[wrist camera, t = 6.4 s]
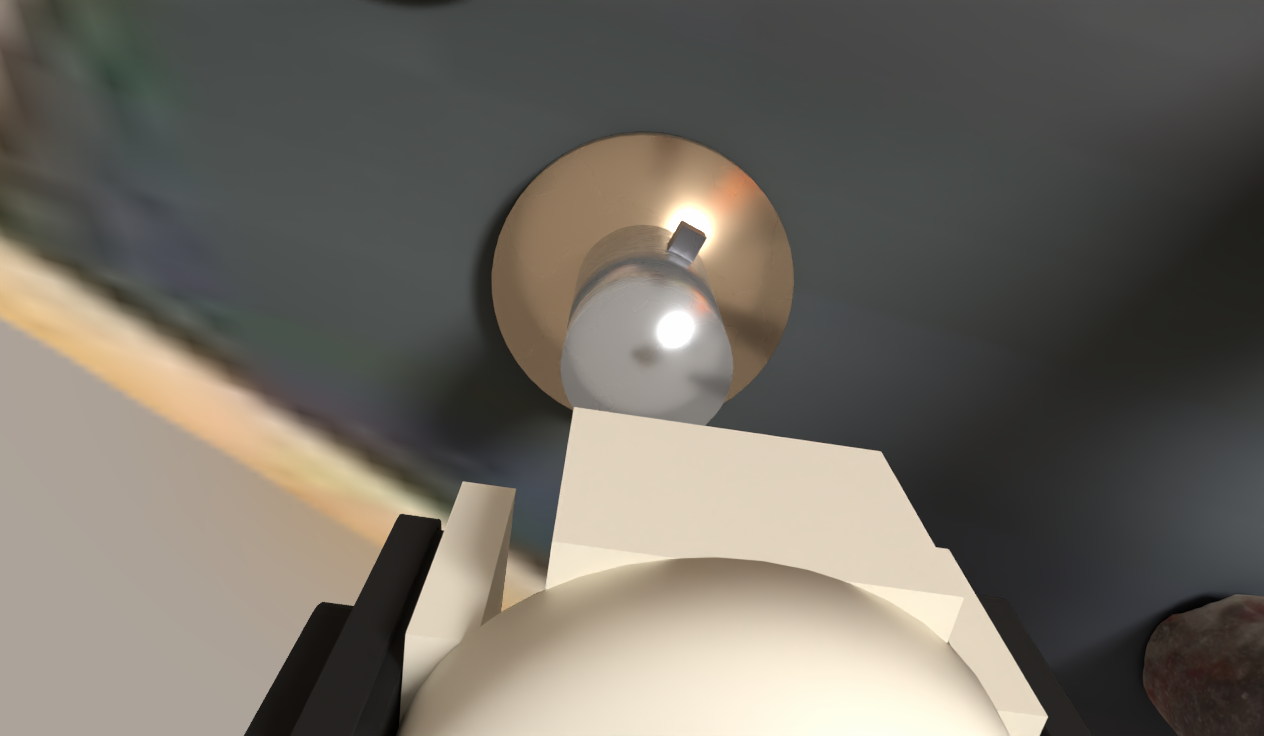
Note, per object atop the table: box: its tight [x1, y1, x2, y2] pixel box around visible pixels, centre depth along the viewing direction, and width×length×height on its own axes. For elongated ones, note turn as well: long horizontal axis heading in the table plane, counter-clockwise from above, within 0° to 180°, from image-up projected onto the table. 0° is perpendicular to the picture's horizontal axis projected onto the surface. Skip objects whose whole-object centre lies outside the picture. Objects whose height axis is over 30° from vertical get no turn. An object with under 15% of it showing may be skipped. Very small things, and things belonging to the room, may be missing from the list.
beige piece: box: [492, 131, 794, 426], centre depth 25 cm, size 10×10×8 cm
